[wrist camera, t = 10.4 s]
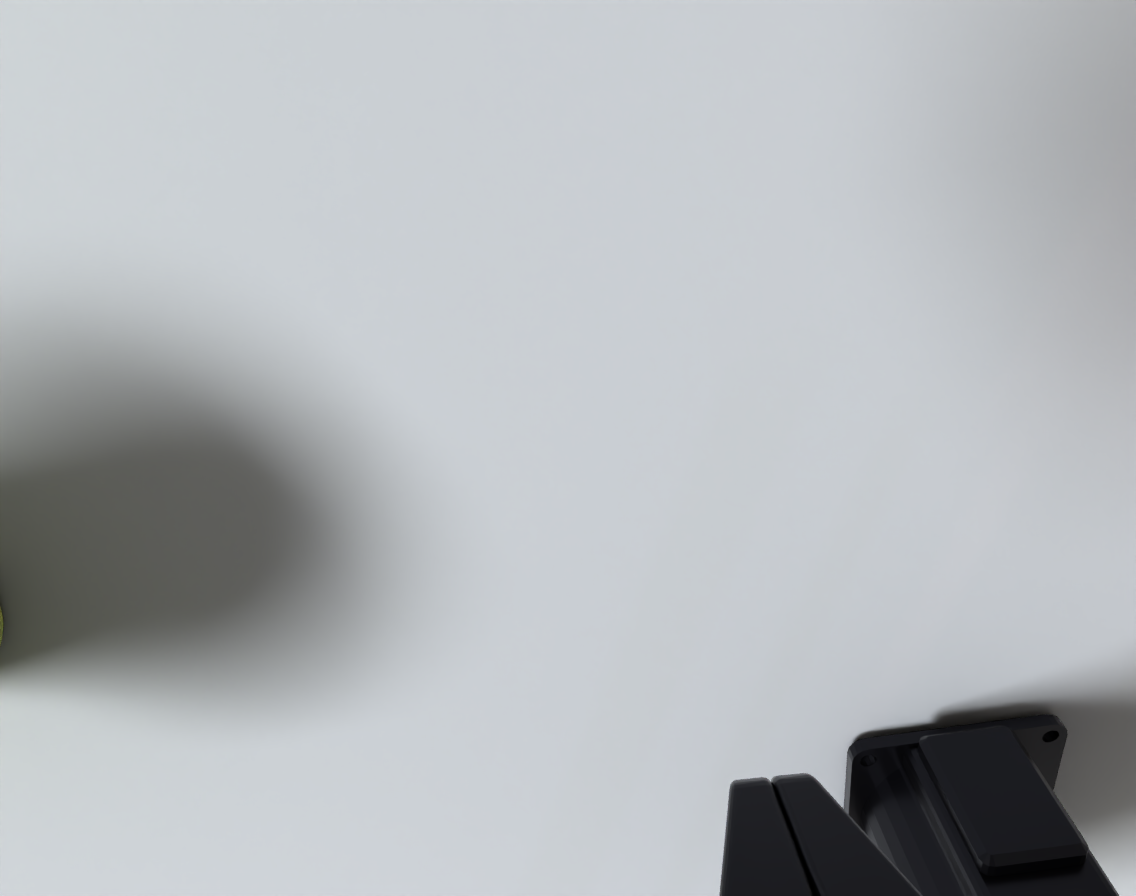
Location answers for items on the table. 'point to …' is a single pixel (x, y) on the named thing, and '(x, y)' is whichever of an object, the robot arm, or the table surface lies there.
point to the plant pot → (1, 626)
